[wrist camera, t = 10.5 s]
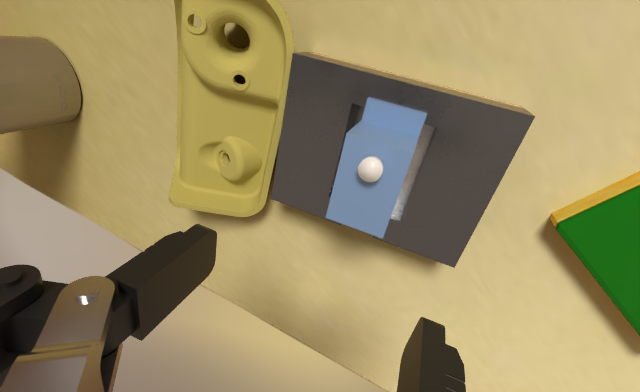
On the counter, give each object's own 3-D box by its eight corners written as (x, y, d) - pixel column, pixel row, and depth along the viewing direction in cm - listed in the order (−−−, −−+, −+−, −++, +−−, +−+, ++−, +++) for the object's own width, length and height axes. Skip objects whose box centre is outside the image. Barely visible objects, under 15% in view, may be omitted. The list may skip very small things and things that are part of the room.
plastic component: (261, 220, 32) (154, 203, 30) (266, 180, 38) (177, 163, 36) (311, -6, 21) (146, -59, 19) (307, -14, 27) (181, -54, 25)
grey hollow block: (289, 182, 31) (270, 198, 28) (313, 52, 26) (292, 52, 22) (453, 241, 28) (454, 267, 25) (521, 106, 22) (535, 116, 19)
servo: (349, 193, 29) (317, 241, 22) (377, 92, 24) (349, 109, 17) (392, 208, 28) (373, 263, 21) (429, 106, 24) (422, 130, 16)
